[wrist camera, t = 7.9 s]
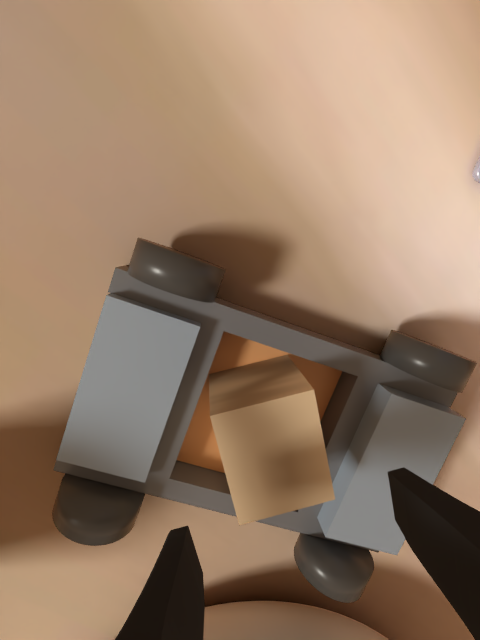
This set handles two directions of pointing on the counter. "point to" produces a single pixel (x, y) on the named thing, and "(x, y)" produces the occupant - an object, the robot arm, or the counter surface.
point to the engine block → (269, 438)
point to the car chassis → (197, 431)
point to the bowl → (281, 623)
